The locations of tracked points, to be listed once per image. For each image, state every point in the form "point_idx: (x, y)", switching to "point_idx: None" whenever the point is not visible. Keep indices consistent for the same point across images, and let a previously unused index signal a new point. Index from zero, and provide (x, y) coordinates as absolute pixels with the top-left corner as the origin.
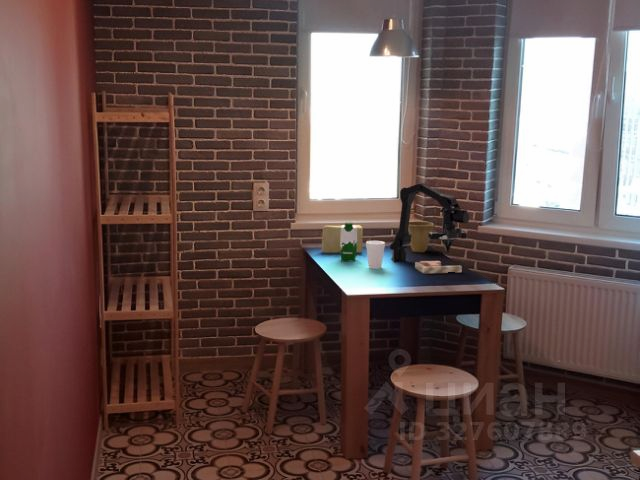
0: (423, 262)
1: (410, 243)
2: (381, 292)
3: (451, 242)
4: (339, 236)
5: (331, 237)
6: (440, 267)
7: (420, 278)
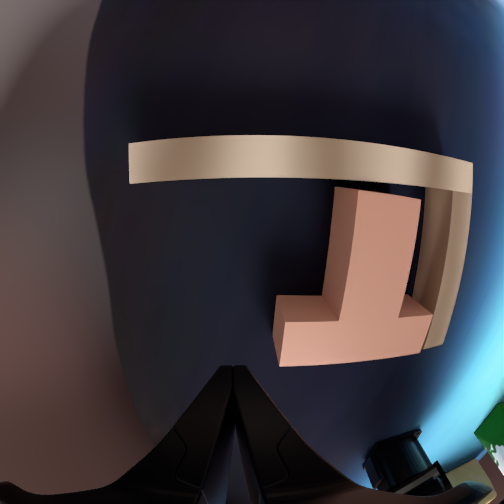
0: (423, 315)
1: None
2: None
3: (141, 486)
4: None
5: None
6: (356, 141)
7: (469, 63)
